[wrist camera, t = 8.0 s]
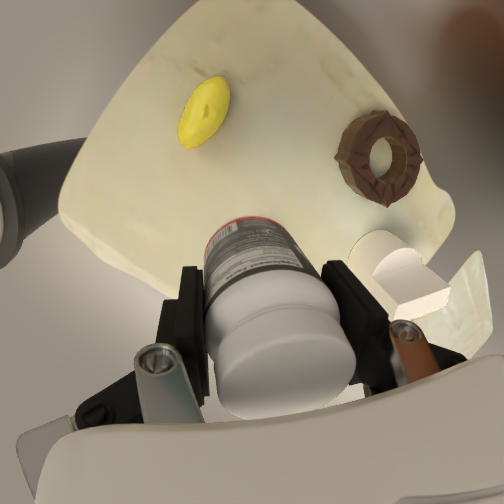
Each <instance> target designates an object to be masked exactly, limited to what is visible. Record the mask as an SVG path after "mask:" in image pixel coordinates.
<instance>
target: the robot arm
mask: <svg viewBox="0 0 504 504" xmlns="http://www.w3.org/2000/svg"><path fill="white" fill-rule="evenodd" d="M3 229H4V219H3V211H2V206H1V202H0V243H1V240H2V236H3ZM321 278H322V280H323V281H324V282H325V284H326V285H327V287H328V288H329V289H330V291H331V293H332V295H333V296H334V298H335V300H336V302H337V304H338V307H339V312H340V326H341V327H342V329H343V331H344V334H345V336H346V338H347V340H348V342H349V343H350V345H351V347H352V349H353V351H354V354H355V357H356V368H355V372H354V375H353V377H352V379H351V381H350V382H349V385H354V384H358V383H363V387H364V388H363V389H364V394H365V398H363V399H359V400H356V401H352V402H348V403H344V404H340V405H336V406H331V407H327V408H323V409H317V410H312V411H307V412H302V413H296V414H290V415H284V416H277V417H270V418H262V419H253V420H243V421H231V422H215V423H205V421H204V418H203V416H202V413H201V411H200V407H201V406H202V405H204V396H210V394H209V375H208V352H207V349H206V345H205V335H204V284H203V270H197V266H186V267H183V270H182V276H181V283H180V290H179V297H178V299H170V300H164V301H163V306H162V310H161V316H160V320H159V325H158V331H157V337H156V342H155V343H154V344H150V345H147V346H145V347H144V348H142V349H141V350H140V351H139V352H138V353H137V354H136V356H135V358H134V368H135V370H134V371H133V372H131V373H129V374H128V375H126V376H125V377H123V378H121V379H120V380H118V381H117V382H115V383H113V384H112V385H110V386H109V387H107V388H105V389H104V390H102V391H101V392H99V393H97V394H95V395H94V396H92V397H90V398H89V399H87V400H86V401H84V402H83V403H82V404H81V405H80V406H79V407H78V409H77V410H76V413H75V416H73V417H70V418H69V416H68V415H66V416H63V417H61V418H59V419H56V420H54V421H52V422H49V423H47V424H45V425H42V426H39V427H37V428H35V429H32V430H30V431H27V432H25V433H23V434H22V435H21V436H20V437H19V438H18V440H17V443H16V451H17V455H18V458H19V461H20V464H21V467H22V469H23V472H24V475H25V478H26V480H27V483H28V486H29V488H30V490H31V492H32V495H33V497H34V499H35V504H504V355H486V356H481V357H477V358H474V359H470V360H467V359H466V357H465V356H463V355H462V354H460V353H457V352H454V351H451V350H448V349H446V348H443V347H440V346H437V345H434V344H431V343H428V341H427V339H426V337H425V335H424V333H423V331H422V330H421V329H420V327H419V326H417V325H416V324H415V323H413V322H411V321H408V320H403V319H398V320H394V321H392V322H390V320H389V319H388V317H389V314H388V313H387V312H386V311H385V309H384V308H383V307H382V306H381V305H380V303H379V302H378V301H377V300H376V299H375V298H374V296H373V295H372V294H371V293H370V292H369V291H368V290H367V288H366V287H365V286H364V285H363V284H362V283H361V282H360V280H359V279H358V278H357V277H356V276H355V275H354V274H353V273H352V271H351V270H350V269H349V268H348V267H347V266H346V265H345V264H344V263H343V261H341V260H332V261H327V263H326V264H324V265H323V267H322V273H321Z"/></svg>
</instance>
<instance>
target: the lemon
mask: <svg viewBox="0 0 504 504" xmlns="http://www.w3.org/2000/svg"><path fill="white" fill-rule="evenodd" d="M229 102H230V89H229V86H228V83H227V81H226V80H225V79H224V78H223V77H213V78H210V79H208V80H206V81H204V82H203V83H202V84H201V85H199V86H198V87H197V88H196V89H195V90H194V92H193V93H192V95H191V97H190V99H189V101H188V103H187V105H186V106H185V107H184V111H183V115H182V117H181V120H180V122H179V124H178V129H177V135H178V139H179V141H180V143H181V144H182V145H183V146H184V147H185V148H188V149H192V148H196V147H199V146H200V145H202V144H203V143H204V142H205V141H206V140H207V139H208V138H210V137H211V136H212V135H213V134H214V133H216V131H217V130H218V128H220V126H221V125H222V123H223V121H224V118H225V116H226V114H227V111H228V107H229Z"/></svg>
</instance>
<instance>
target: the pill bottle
mask: <svg viewBox="0 0 504 504" xmlns="http://www.w3.org/2000/svg"><path fill="white" fill-rule="evenodd" d="M204 335H205V345H206V349H207V352H208V354H209V355H210V357H211V359H212V360H213V361H214V372H215V377H216V386H217V394H218V397H219V400H220V402H221V404H222V405H223V407H224V408H225V409H226V410H227V411H229V412H230V413H231V414H233V415H235V416H237V417H240V418H242V419H245V420H253V419H262V418H270V417H277V416H284V415H290V414H296V413H302V412H307V411H312V410H317V409H319V408H321V407H323V406H324V405H326V404H328V403H329V402H331V401H332V400H333V399H334V398H335V397H337V396H338V395H339V394H340V393H341V392H342V391H343V390H344V389H345V388H346V387H347V385H348V384H349V382H350V381H351V379H352V377H353V375H354V372H355V368H356V357H355V354H354V351H353V349H352V347H351V345H350V343H349V342H348V340H347V338H346V336H345V334H344V331H343V329H342V327H341V326H340V312H339V307H338V304H337V302H336V300H335V298H334V296H333V295H332V293H331V291H330V289H329V288H328V287H327V285H326V284H325V282H324V281H323V280H322V278H321V277H320V275H319V274H318V273H317V271H316V270H315V268H314V267H313V266H312V264H311V263H310V262H309V260H308V259H307V257H306V256H305V255H304V253H303V252H302V251H301V249H300V248H299V246H298V245H297V244H296V242H295V241H294V240H293V238H292V237H291V235H290V234H289V233H288V232H287V231H286V229H285V228H284V227H282V226H281V225H280V224H279V223H277V222H275V221H273V220H271V219H268V218H264V217H259V216H244V217H239V218H236V219H233V220H231V221H229V222H227V223H226V224H224V225H223V226H221V227H220V228H219V229H218V230H217V231H216V232H215V233H214V234H213V236H212V237H211V238H210V240H209V242H208V244H207V247H206V250H205V254H204Z"/></svg>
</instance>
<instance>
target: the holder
mask: <svg viewBox="0 0 504 504" xmlns="http://www.w3.org/2000/svg"><path fill="white" fill-rule="evenodd" d="M382 137H384V138H385V139H386V140H387V141H388V143H389V144H390V146H391V149H392V152H393V161H392V164H391V167H390V169H389V170H388V172H387V173H386V174H385V175H384V176H382V177H380V178H375V176H374V175H373V174H372V171H371V169H370V166H369V155H370V152H371V149H372V146H373V145H374V143H375V142H376V141H377V140H378V139H380V138H382ZM334 159H335V160H336V161H337V162H338V163H339V168H340V170H341V173H342V175H343V178H344V180H345V182H346V183H347V184H348V185H349V186H350V187H351V188H352V189H353V191H354V192H355V193H357V194H359V195H361V196H363V197H365V198H367V199H369V200H371V201H374V202H377V203H379V204H381V205H383V206H385V207H386V208H388V207H389V206H390V204H391V203H394V202H396V201H398V200H399V199H401V198H402V197H404V196H406V195H407V194H408V192H409V191H410V190H411V188H412V187H413V186H414V184H415V182H416V179H417V176H418V173H419V170H420V164H421V163H422V162H423V158H422V157H421V155H420V149H419V145H418V142H417V139H416V136H415V134H414V133H413V132H412V130H411V129H410V127H409V126H408V125H407V124H406V123H405V122H403V121H402V120H400V119H398V118H397V117H395V116H391V115H390V114H389V112H388V111H387V110H373V111H372V113H371V114H370V115H365V116H363V117H361V118H358V119H356V120H354V121H353V122H352V123H351V124H350V126H349V127H348V128H347V129H346V130H345V132H344V133H343V135H342V139H341V142H340V145H339V148H338V154H337V155H336V156H335V158H334Z"/></svg>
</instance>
